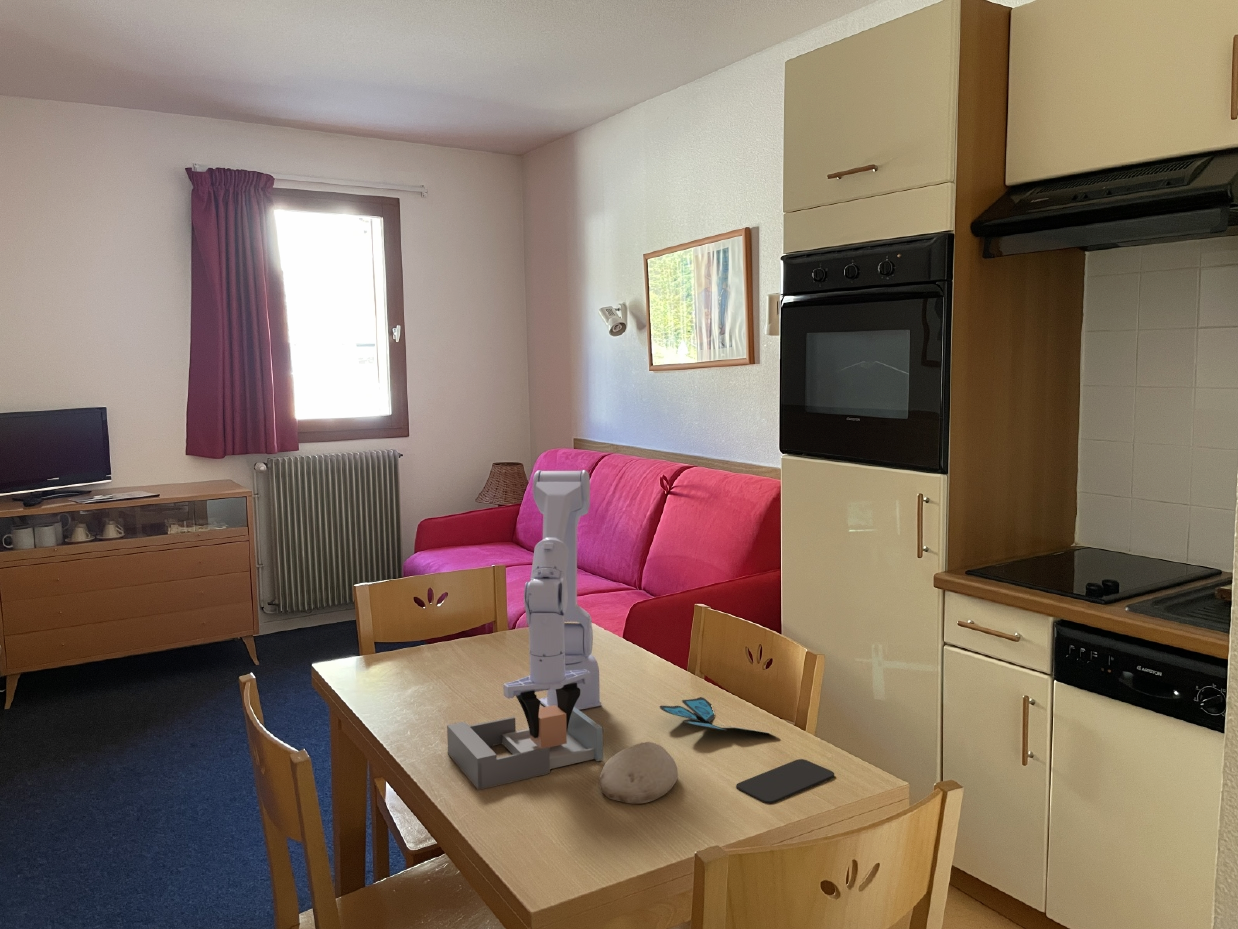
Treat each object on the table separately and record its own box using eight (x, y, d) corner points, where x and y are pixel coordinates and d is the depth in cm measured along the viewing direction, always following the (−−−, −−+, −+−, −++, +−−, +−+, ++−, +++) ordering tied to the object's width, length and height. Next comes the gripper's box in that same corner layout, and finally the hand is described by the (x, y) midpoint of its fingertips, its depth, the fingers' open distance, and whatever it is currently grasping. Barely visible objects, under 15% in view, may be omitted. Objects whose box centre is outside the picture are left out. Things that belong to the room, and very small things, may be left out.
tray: (564, 728, 159) (563, 698, 159) (602, 760, 146) (602, 727, 146) (499, 741, 154) (499, 710, 153) (534, 775, 141) (533, 742, 140)
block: (555, 734, 153) (554, 705, 152) (566, 743, 149) (566, 713, 148) (530, 739, 151) (529, 709, 150) (541, 749, 147) (540, 718, 146)
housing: (514, 739, 155) (513, 712, 155) (549, 773, 142) (549, 743, 141) (447, 753, 150) (447, 725, 149) (478, 790, 137) (477, 758, 136)
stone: (627, 836, 132) (651, 802, 128) (580, 786, 135) (601, 752, 132) (675, 794, 142) (698, 762, 138) (629, 748, 146) (651, 715, 142)
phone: (732, 784, 136) (801, 757, 145) (732, 790, 137) (801, 762, 146) (768, 803, 131) (838, 773, 140) (768, 808, 131) (838, 778, 140)
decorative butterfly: (642, 712, 164) (643, 697, 164) (706, 703, 172) (707, 688, 171) (711, 758, 147) (713, 741, 147) (779, 745, 155) (780, 729, 154)
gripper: (513, 665, 141) (515, 750, 143) (598, 651, 148) (599, 732, 149) (498, 653, 148) (500, 734, 149) (579, 640, 154) (580, 718, 156)
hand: (548, 732), depth 150 cm, fingers closed on block, 4 cm apart
